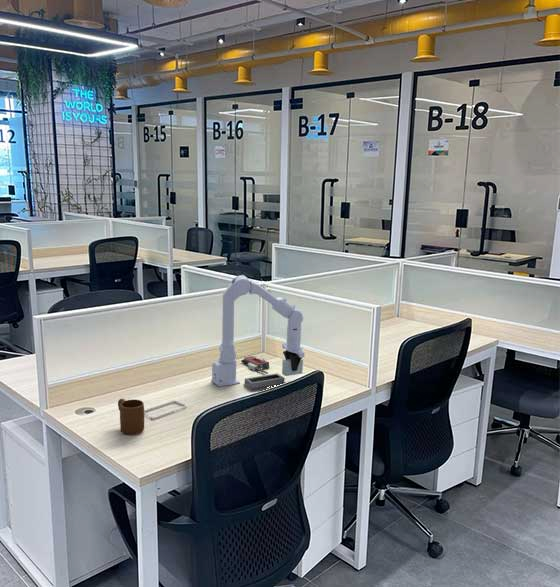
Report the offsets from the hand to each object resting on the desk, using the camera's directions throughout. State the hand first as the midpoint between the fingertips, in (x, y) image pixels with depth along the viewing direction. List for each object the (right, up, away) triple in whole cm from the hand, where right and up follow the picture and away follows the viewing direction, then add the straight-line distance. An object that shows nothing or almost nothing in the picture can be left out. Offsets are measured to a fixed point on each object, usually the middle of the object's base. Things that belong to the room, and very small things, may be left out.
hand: (292, 369), depth 231 cm
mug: (-55, -13, -48) cm, 74 cm away
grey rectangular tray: (-11, -6, -5) cm, 14 cm away
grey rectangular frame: (-46, -11, -33) cm, 58 cm away
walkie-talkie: (-15, -2, +16) cm, 22 cm away
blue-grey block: (0, -2, 0) cm, 2 cm away
